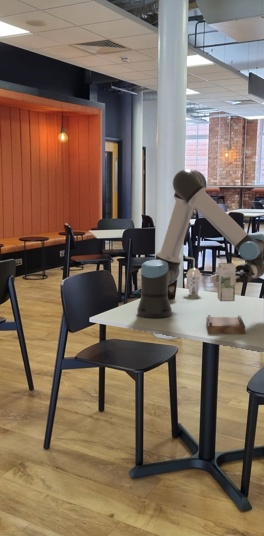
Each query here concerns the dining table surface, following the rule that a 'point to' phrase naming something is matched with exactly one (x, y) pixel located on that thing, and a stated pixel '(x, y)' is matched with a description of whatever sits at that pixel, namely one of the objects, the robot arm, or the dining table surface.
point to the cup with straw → (193, 279)
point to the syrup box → (226, 281)
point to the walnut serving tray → (225, 325)
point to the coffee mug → (172, 290)
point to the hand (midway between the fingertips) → (221, 280)
